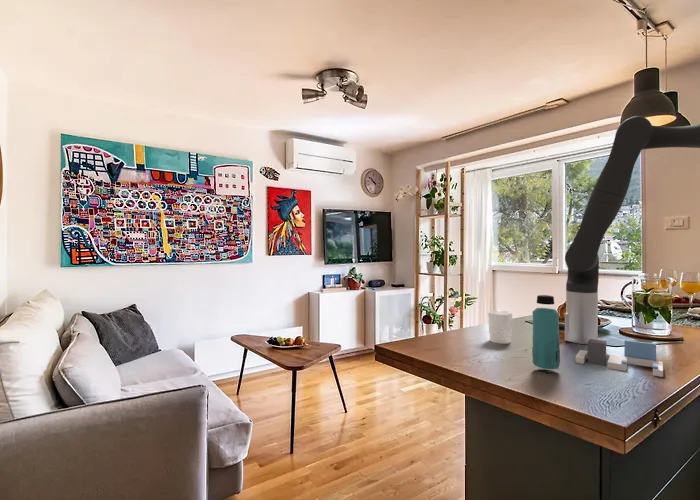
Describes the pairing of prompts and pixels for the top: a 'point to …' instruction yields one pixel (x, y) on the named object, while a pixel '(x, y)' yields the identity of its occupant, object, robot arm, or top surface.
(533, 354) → the beverage bottle
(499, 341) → the white cup
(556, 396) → the top surface
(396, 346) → the top surface
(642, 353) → the white prong rack
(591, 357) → the plug
